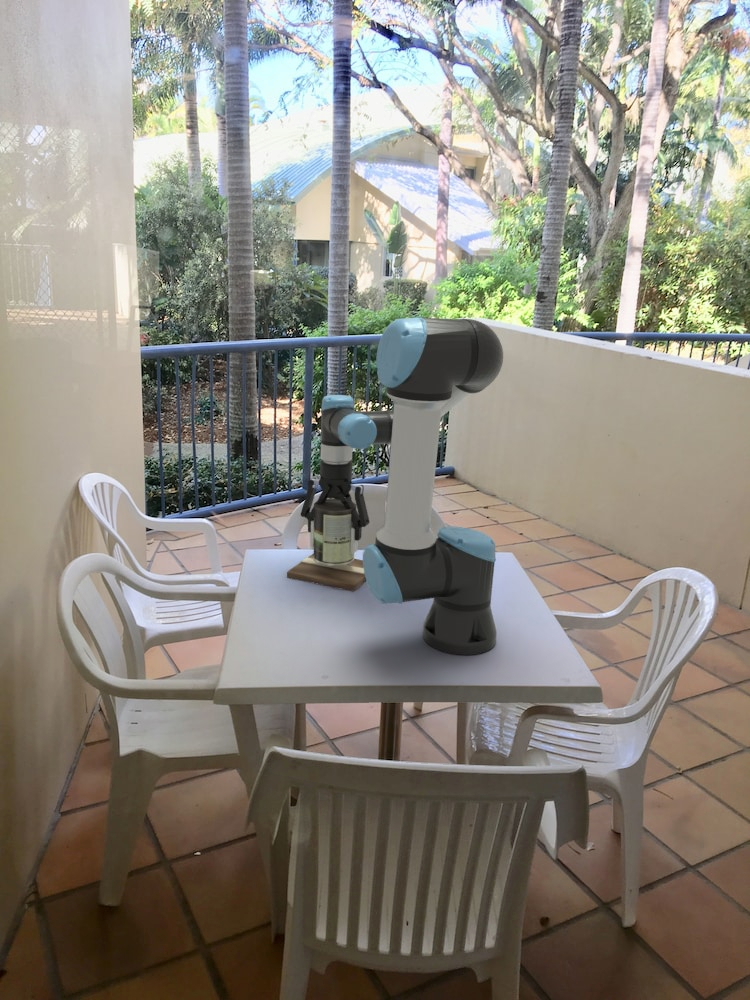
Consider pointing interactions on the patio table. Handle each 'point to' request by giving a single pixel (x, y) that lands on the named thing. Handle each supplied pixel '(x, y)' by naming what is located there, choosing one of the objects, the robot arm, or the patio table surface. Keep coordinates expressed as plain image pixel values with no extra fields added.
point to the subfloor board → (328, 575)
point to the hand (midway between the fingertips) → (333, 548)
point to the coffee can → (332, 533)
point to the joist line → (344, 567)
